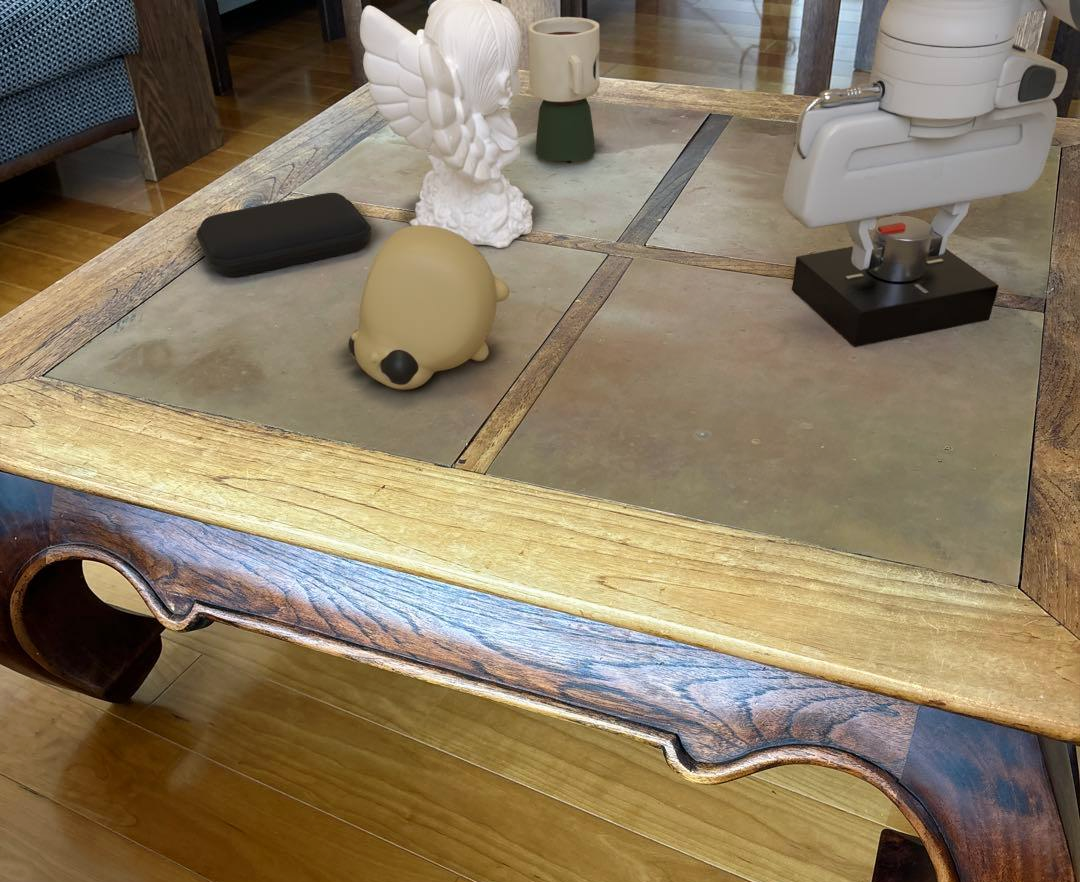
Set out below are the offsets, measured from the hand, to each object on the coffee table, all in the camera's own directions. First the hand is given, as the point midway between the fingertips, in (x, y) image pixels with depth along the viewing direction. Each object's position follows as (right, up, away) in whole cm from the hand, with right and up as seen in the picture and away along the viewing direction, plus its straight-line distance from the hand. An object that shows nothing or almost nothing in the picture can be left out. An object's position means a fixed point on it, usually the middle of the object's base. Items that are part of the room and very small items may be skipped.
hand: (897, 259), depth 80 cm
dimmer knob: (0, -1, +1) cm, 1 cm away
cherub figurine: (-34, +7, +16) cm, 38 cm away
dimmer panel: (0, -3, +3) cm, 4 cm away
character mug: (-25, +19, +29) cm, 43 cm away
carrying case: (-52, +5, +14) cm, 54 cm away
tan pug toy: (-36, -9, -2) cm, 37 cm away
